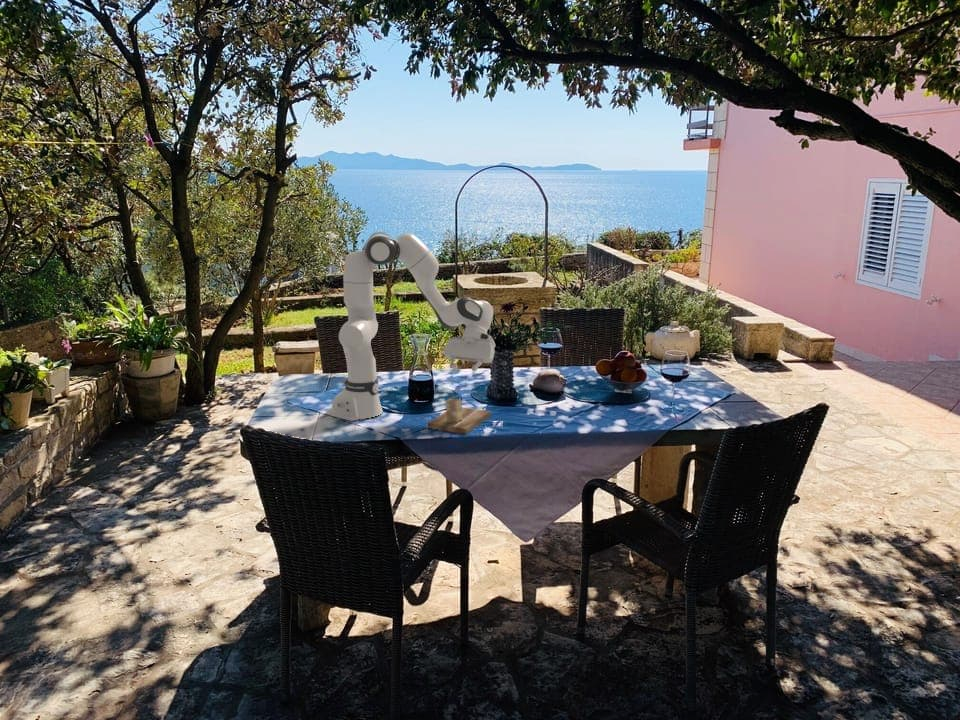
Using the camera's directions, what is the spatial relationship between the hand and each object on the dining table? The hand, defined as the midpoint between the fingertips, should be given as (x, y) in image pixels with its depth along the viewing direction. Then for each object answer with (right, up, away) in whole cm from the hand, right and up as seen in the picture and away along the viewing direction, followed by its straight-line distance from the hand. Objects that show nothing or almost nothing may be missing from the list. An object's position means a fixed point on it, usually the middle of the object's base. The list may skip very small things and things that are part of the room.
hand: (462, 369), depth 262 cm
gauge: (-3, -19, -6) cm, 20 cm away
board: (-1, -20, -2) cm, 20 cm away
